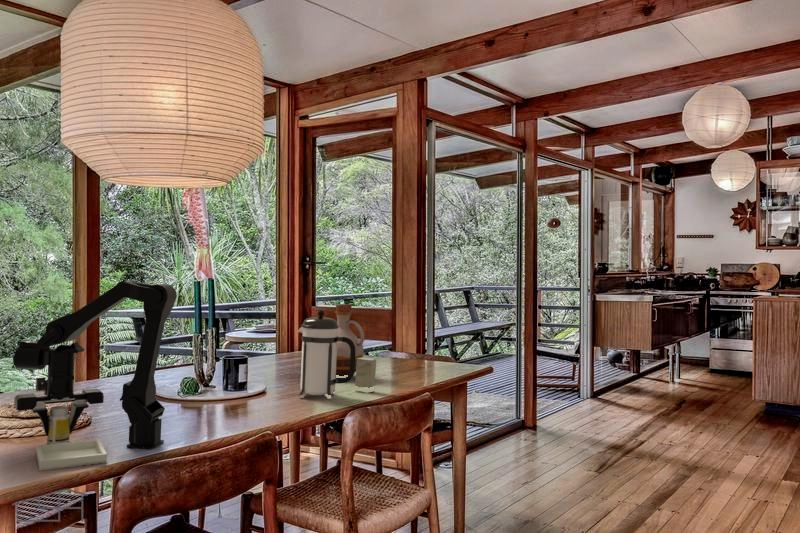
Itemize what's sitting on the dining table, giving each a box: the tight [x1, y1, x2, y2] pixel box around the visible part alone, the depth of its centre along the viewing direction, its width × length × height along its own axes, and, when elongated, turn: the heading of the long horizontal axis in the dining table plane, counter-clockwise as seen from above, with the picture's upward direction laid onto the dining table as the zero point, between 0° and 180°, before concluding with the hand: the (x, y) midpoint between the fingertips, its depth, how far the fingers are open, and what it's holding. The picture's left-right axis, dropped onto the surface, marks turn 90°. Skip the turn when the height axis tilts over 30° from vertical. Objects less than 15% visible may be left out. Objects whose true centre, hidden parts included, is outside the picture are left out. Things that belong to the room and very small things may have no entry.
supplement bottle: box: [46, 405, 71, 444], centre depth 156 cm, size 5×5×8 cm
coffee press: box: [297, 309, 356, 396], centre depth 222 cm, size 17×16×30 cm
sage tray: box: [35, 438, 108, 472], centre depth 143 cm, size 13×13×2 cm
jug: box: [335, 304, 365, 376], centre depth 260 cm, size 20×18×30 cm
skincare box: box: [354, 356, 377, 388], centre depth 233 cm, size 6×4×12 cm
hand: (58, 434), depth 156 cm, fingers closed on supplement bottle, 5 cm apart
